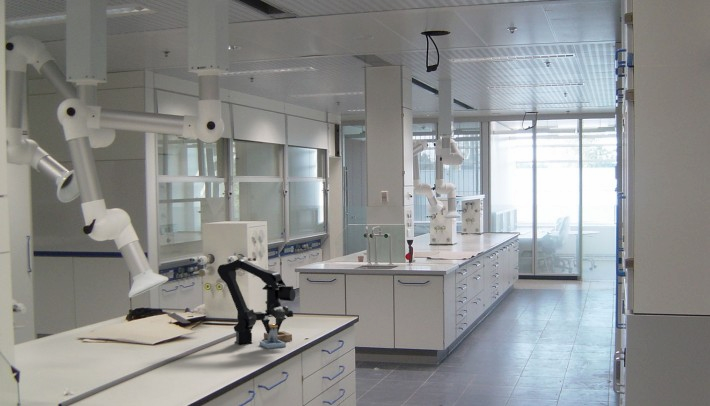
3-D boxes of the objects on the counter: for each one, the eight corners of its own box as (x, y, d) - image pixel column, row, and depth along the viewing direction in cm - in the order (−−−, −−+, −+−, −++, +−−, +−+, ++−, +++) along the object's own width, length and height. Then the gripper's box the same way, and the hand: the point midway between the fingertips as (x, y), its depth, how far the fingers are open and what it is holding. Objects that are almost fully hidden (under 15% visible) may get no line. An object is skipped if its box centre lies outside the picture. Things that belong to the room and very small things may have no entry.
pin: (270, 343, 336) (270, 326, 335) (265, 341, 340) (265, 324, 339) (279, 342, 338) (279, 325, 338) (274, 340, 342) (275, 323, 342)
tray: (268, 349, 333) (268, 345, 333) (259, 345, 340) (259, 341, 340) (285, 346, 338) (285, 343, 338) (276, 343, 345) (276, 339, 345)
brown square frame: (273, 343, 345) (273, 336, 345) (263, 339, 354) (263, 332, 354) (291, 340, 351) (291, 334, 351) (282, 336, 359) (282, 330, 359)
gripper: (262, 303, 327) (261, 338, 327) (299, 300, 337) (298, 334, 337) (251, 300, 336) (251, 333, 336) (287, 297, 346) (287, 329, 347)
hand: (272, 333), depth 339 cm, fingers closed on pin, 4 cm apart
